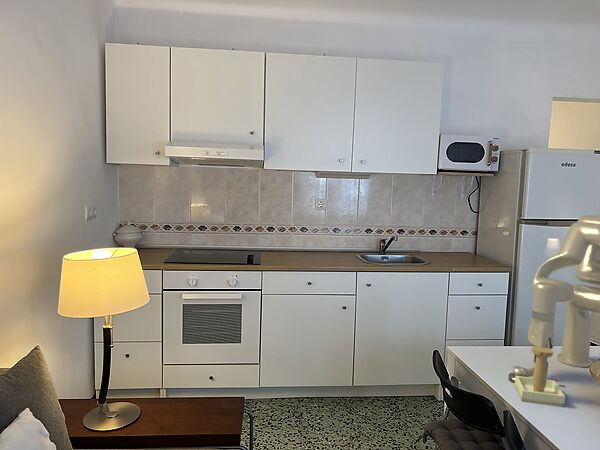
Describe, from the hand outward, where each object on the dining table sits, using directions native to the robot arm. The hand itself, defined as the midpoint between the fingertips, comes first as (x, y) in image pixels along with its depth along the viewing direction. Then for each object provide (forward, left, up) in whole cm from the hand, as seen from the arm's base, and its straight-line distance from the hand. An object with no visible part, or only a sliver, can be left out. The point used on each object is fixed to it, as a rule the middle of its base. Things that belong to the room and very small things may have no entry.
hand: (539, 363), depth 177 cm
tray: (+19, -4, -5) cm, 20 cm away
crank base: (+8, -2, -5) cm, 9 cm away
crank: (+5, -4, -3) cm, 7 cm away
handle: (+18, -4, -4) cm, 19 cm away
